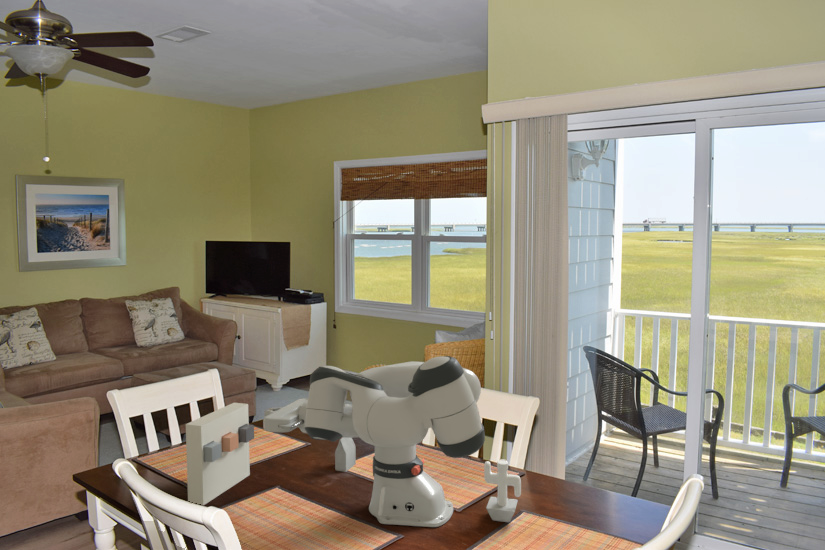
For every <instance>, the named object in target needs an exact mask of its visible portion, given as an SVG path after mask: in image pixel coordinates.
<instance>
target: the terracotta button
mask: <svg viewBox="0 0 825 550" xmlns="http://www.w3.org/2000/svg"><path fill="white" fill-rule="evenodd" d="M236 448H238V434H236V433H227V434H225V435H224V436H222V451H226V452H231V451H233V450H235V449H236Z"/></svg>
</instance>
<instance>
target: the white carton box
mask: <svg viewBox="0 0 825 550" xmlns="http://www.w3.org/2000/svg"><path fill="white" fill-rule="evenodd" d="M356 450H357V449H356V444H355V442H354V439H353V438H347V437H341V438H340V439H338V444H337V447H336V449H335V452H334V459H335V461H334V462H335V463H334V465H335V466H334V468H335V471H336V472H342V473H343V472H344V473H346V472H348V471H349V470H351V469H352V468H353V467H354V466H355V465H356V459H357V456H356V455H357V454H356V452H357V451H356Z"/></svg>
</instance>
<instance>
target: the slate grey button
mask: <svg viewBox="0 0 825 550" xmlns="http://www.w3.org/2000/svg"><path fill="white" fill-rule="evenodd" d="M203 451H204V461H207V462H213V461H215V460H217V459H219V458H221V443H218V442H210V443H208V444H206V445H204V446H203Z"/></svg>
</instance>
